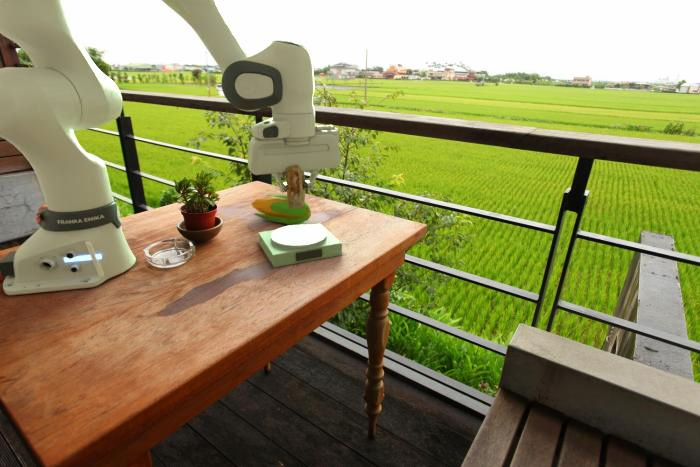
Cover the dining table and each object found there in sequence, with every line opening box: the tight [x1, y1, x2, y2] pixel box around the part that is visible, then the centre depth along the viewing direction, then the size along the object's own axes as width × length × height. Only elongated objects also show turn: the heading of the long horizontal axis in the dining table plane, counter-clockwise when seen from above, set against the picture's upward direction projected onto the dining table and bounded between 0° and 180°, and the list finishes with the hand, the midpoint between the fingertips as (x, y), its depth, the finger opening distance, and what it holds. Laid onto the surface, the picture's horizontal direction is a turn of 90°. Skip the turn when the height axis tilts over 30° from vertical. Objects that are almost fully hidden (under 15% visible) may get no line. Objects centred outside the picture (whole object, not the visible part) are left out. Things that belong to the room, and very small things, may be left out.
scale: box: [257, 222, 343, 268], centre depth 91 cm, size 16×14×4 cm
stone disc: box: [285, 165, 306, 208], centre depth 86 cm, size 10×4×10 cm, turn 0°
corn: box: [251, 193, 312, 226], centre depth 109 cm, size 7×8×20 cm
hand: (296, 190), depth 87 cm, fingers closed on stone disc, 4 cm apart
